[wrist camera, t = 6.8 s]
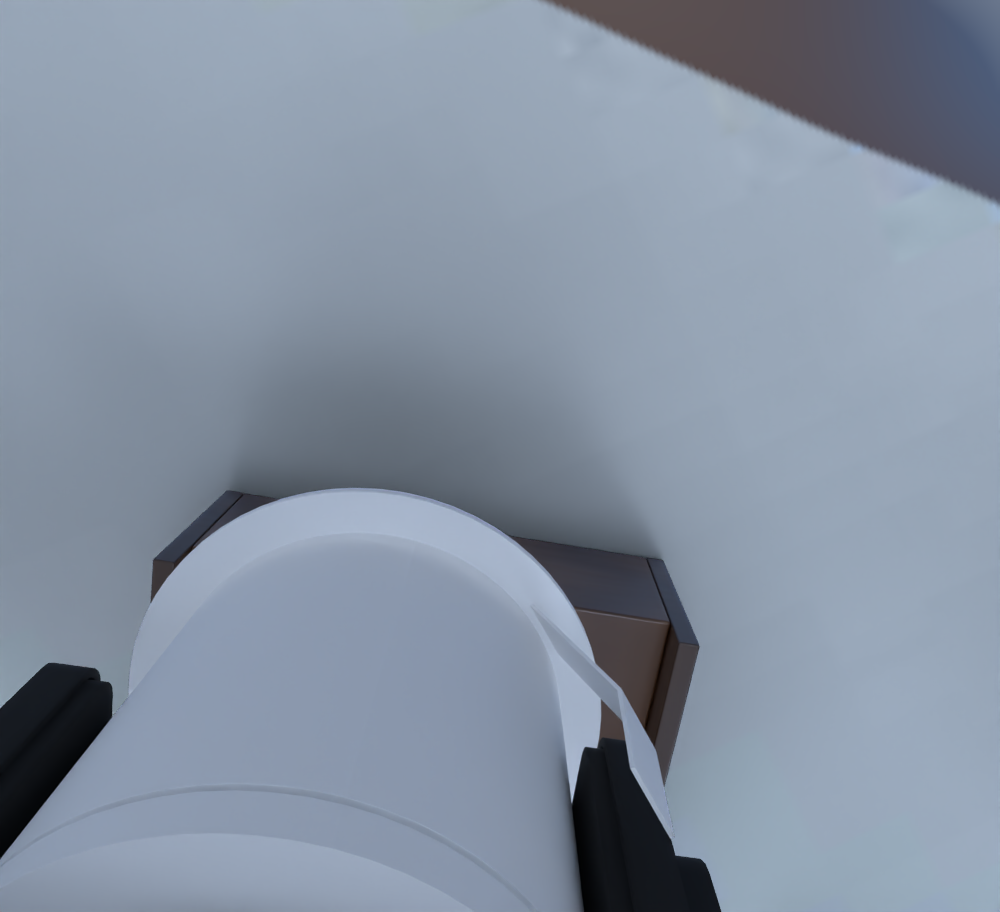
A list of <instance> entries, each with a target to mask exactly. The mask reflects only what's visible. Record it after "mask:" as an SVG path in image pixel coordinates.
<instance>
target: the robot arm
mask: <svg viewBox="0 0 1000 912" xmlns="http://www.w3.org/2000/svg"><path fill="white" fill-rule="evenodd" d="M112 699H113V692H112V686H111V684H110V683H109V682H103V681H101V680H100V675H99V671H98V670H96V669H95V668H88V667H81V666H73V665H66V664H59V663H48V664H47V665H45V666H44V667H42V668H41V669H40V670H39V671H38V672H37V673H36V674H35V675H34V676H33V677H32V678H31V679H30V680H29V681H28V682H27V683H26V684H25V685H24V686H23V687H22V688H21V689H20V690H19V691H18V692H17V693H16V694H15V695H14V696H13V697H12V698H11V699H10V700H9V701H7V702H6V703H5V704H4V705H3V706H2V707H1V708H0V859H1V858H2V856H3V855H4V854H5V852H6V851H7V850H8V849H9V847H10V846H11V845H12V844H13V842H14V841H15V840H16V839H17V837H18V836H19V835H20V834H21V832H22V831H23V830H24V828H25V827H26V826H27V825H28V823H29V822H30V821H31V820H32V818H33V817H34V816H35V815H36V813H37V812H38V811H39V809H40V808H41V807H42V806H43V804H44V803H45V802H46V801H47V799H48V798H49V797H50V796H51V794H52V793H53V792H54V790H55V789H56V788H57V787H58V785H59V784H60V783H61V782H62V780H63V779H64V778H65V777H66V775H67V774H68V773H69V771H70V770H71V769H72V768H73V766H74V765H75V764H76V763H77V761H78V760H79V759H80V758H81V756H82V755H83V754H84V752H85V751H86V750H87V749H88V747H89V746H90V745H91V744H92V742H93V741H94V740H95V739H96V737H97V736H98V735H99V733H100V732H101V731H102V730H103V728H104V727H105V726H106V725H107V723H108V722H109V721H110V720H111V718H112ZM572 811H573V819H574V828H575V837H576V845H577V854H578V863H579V871H580V880H581V889H582V897H583V906H584V912H721V909H720V906H719V903H718V899H717V896H716V893H715V890H714V887H713V883H712V880H711V877H710V874H709V871H708V869H707V867H706V864H705V863H704V862H703V861H702V860H701V859H697V858H689V857H681V856H675V853H674V849H673V845H672V841H671V839H670V837H669V836H668V834H667V832H666V830H665V829H664V827H663V825H662V823H661V822H660V820H659V818H658V816H657V815H656V813H655V811H654V809H653V808H652V806H651V804H650V802H649V801H648V799H647V797H646V795H645V794H644V792H643V790H642V788H641V787H640V785H639V783H638V781H637V780H636V778H635V776H634V774H633V773H632V771H631V769H630V764H629V758H628V752H627V746H626V740H618V739H611V738H604V737H602V738H601V739H600V742H599V744H598V748H591V747H585V748H584V750H583V752H582V756H581V761H580V766H579V771H578V776H577V781H576V786H575V791H574V796H573V801H572Z"/></svg>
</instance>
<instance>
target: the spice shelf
mask: <svg viewBox="0 0 1000 912" xmlns="http://www.w3.org/2000/svg"><path fill="white" fill-rule="evenodd" d="M277 500H280V499H275V498H269V497H262V496H256V495H250V494H243V493H240V492H234V491H226V492H225V493H224V494H223V495H222V496H221V497H220V498H218V499H217V500H216V501H215V502H214V503H213V504H212V505H211V506H210V507H209V508H208V509H207V510H206V511H205V512H203V513H202V514H201V515H200V516H199V517H198V518H197V519H196V520H195V521H194V522H193V523H192V524H191V525H190V526H189V527H187V528H186V529H185V530H184V531H183V532H182V533H181V534H180V535H179V536H178V537H177V538H176V539H175V540H174V541H173V542H171V543H170V544H169V545H168V546H167V547H166V548H165V549H164V550H163V551H162V552H161V553H160V554H159V555H158V556H157V557H155V558H154V560H153V572H152V589H151V603H152V601H153V599H154V597H155V595H156V594H157V592H158V591H159V589H160V588H161V586H162V585H163V583H164V582H165V581H166V579H167V578H168V576H169V575H170V574H171V573H172V572H173V571H174V569H175V568H176V567H177V566H178V565H179V564H180V563H181V561H182V560H183V559H184V558H185V557H186V556H187V555H188V554H189V553H190V552H191V551H192V550H194V549H195V548H196V547H197V546H198V545H199V544H200V543H201V542H202V541H203V540H205V539H206V538H207V537H209V536H210V535H211V534H213V533H214V532H215V531H217V530H218V529H219V528H221V527H222V526H224V525H226V524H227V523H229V522H231V521H232V520H234V519H236V518H237V517H239V516H241V515H243V514H245V513H247V512H249V511H252V510H254V509H256V508H258V507H260V506H262V505H265V504H268V503H271V502H274V501H277ZM509 537H510V538H511V539H513V540H514V541H516V542H517V543H518V544H519V545H520V546H521V547H523V548H524V549H525V550H526V551H527V552H529V553H530V554H531V555H532V556H533V557H534V558H535V559H536V560H537V561H538V562H539V563H540V564H541V565H542V566H543V567H544V568H545V569H546V570H547V571H548V572H549V574H550V575H551V576H552V577H553V579H554V580H555V581H556V583H557V584H558V585H559V586H560V588H561V589H562V590H563V592H564V593H565V595H566V596H567V598H568V600H569V601H570V603H571V604H572V606H573V607H574V609H575V611H576V613H577V615H578V617H579V619H580V621H581V623H582V625H583V627H584V629H585V632H586V635H587V638H588V640H589V643H590V646H591V649H592V652H593V656H594V660H595V664H596V665H597V666H599V667H600V668H601V669H602V670H603V671H604V672H605V673H606V674H607V675H608V676H609V677H610V678H611V679H612V680H613V681H614V682H615V683H616V684H617V685H618V686H619V687H620V688H621V689H622V691H623V692H624V694H625V696H626V698H627V699H628V701H629V703H630V705H631V707H632V708H633V710H634V712H635V714H636V716H637V717H638V719H639V721H640V723H641V725H642V726H643V728H644V730H645V732H646V733H647V735H648V737H649V739H650V741H651V742H652V744H653V746H654V748H655V750H656V753H657V758H658V762H659V767H660V771H661V776H662V780H663V785H664V786H665V782H666V778H667V774H668V770H669V766H670V762H671V758H672V754H673V750H674V746H675V742H676V738H677V734H678V730H679V726H680V722H681V718H682V714H683V710H684V706H685V702H686V698H687V694H688V690H689V686H690V682H691V678H692V674H693V670H694V666H695V662H696V658H697V654H698V650H699V644H698V641H697V639H696V636H695V634H694V632H693V629H692V627H691V625H690V622H689V620H688V618H687V615H686V613H685V611H684V608H683V606H682V604H681V601H680V599H679V596H678V594H677V592H676V589H675V587H674V585H673V582H672V580H671V578H670V575H669V573H668V571H667V568H666V566H665V564H664V561H663V560H658V559H652V558H647V559H646V558H643V557H637V556H630V555H624V554H618V553H612V552H606V551H599V550H593V549H587V548H581V547H574V546H568V545H562V544H556V543H549V542H543V541H537V540H531V539H524V538H518V537H512V536H509ZM602 737H604V738H611V739H618V740H625V734H624V728H623V722H622V720H621V719H620V718H619V717H618V716H617V715H616V714H615V713H614V712H613V711H612V710H611V709H610V708H609V707H608V706H607V705H606V704H605V703H604V702H603V701H602V699H601V723H600V735H599V741H598V744H599V742H600V739H601V738H602ZM597 748H598V746H597Z"/></svg>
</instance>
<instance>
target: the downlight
mask: <svg viewBox="0 0 1000 912" xmlns="http://www.w3.org/2000/svg"><path fill="white" fill-rule="evenodd" d="M601 699H602V701H603V702H604V703H605V704H606V705H607V706H608V707H609V708H610V709H611V710H612V711H613V712H614V713H615V714H616V715H617V716H618V717H619V718H620V719H621V720H622V722H623V728H624V734H625V740H626V746H627V752H628V758H629V764H630V769H631V771H632V773H633V774H634V776H635V778H636V780H637V781H638V783H639V785H640V787H641V788H642V790H643V792H644V794H645V795H646V797H647V799H648V801H649V802H650V804H651V806H652V808H653V809H654V811H655V813H656V815H657V816H658V818H659V820H660V822H661V823H662V825H663V827H664V829H665V830H666V832H667V834H668V836H669V837H670V839H671V838H674V837H675V836H674V831H673V826H672V822H671V817H670V813H669V808H668V803H667V799H666V794H665V790H664V785H663V780H662V776H661V771H660V767H659V762H658V758H657V753H656V750H655V748H654V746H653V744H652V742H651V741H650V739H649V737H648V735H647V733H646V732H645V730H644V728H643V726H642V725H641V723H640V721H639V719H638V717H637V716H636V714H635V712H634V710H633V708H632V707H631V705H630V703H629V701H628V699H627V698H626V696H625V694H624V692H623V691H622V689H621V688H620V687H619V686H618V685H617V684H616V683H615V682H614V681H613V680H612V679H611V678H610V677H609V676H608V675H607V674H606V673H605V672H604V671H603V670H602V669H601V668H600V667H599V666H597V665H596V664H595V660H594V656H593V652H592V649H591V646H590V643H589V640H588V638H587V635H586V632H585V629H584V627H583V625H582V623H581V621H580V619H579V617H578V615H577V613H576V611H575V609H574V607H573V606H572V604H571V603H570V601H569V600H568V598H567V596H566V595H565V593H564V592H563V590H562V589H561V588H560V586H559V585H558V584H557V583H556V581H555V580H554V579H553V577H552V576H551V575H550V574H549V572H548V571H547V570H546V569H545V568H544V567H543V566H542V565H541V564H540V563H539V562H538V561H537V560H536V559H535V558H534V557H533V556H532V555H531V554H530V553H529V552H527V551H526V550H525V549H524V548H523V547H521V546H520V545H519V544H518V543H517V542H516V541H514V540H513V539H511V538H510V537H509V536H507V535H506V534H504V533H503V532H501V531H500V530H499V529H497V528H496V527H494V526H492V525H490V524H489V523H487V522H485V521H483V520H481V519H480V518H478V517H476V516H474V515H472V514H470V513H468V512H465V511H463V510H461V509H459V508H456V507H454V506H452V505H449V504H446V503H443V502H440V501H437V500H434V499H431V498H427V497H423V496H419V495H415V494H411V493H406V492H400V491H393V490H386V489H374V488H338V489H327V490H320V491H313V492H307V493H302V494H298V495H294V496H290V497H286V498H283V499H280V500H277V501H274V502H271V503H268V504H265V505H262V506H260V507H258V508H256V509H254V510H252V511H249V512H247V513H245V514H243V515H241V516H239V517H237V518H236V519H234V520H232V521H231V522H229V523H227V524H226V525H224V526H222V527H221V528H219V529H218V530H217V531H215V532H214V533H213V534H211V535H210V536H209V537H207V538H206V539H205V540H203V541H202V542H201V543H200V544H199V545H198V546H197V547H196V548H195V549H194V550H192V551H191V552H190V553H189V554H188V555H187V556H186V557H185V558H184V559H183V560H182V561H181V563H180V564H179V565H178V566H177V567H176V568H175V569H174V571H173V572H172V573H171V574H170V575H169V576H168V578H167V579H166V581H165V582H164V583H163V585H162V586H161V588H160V589H159V591H158V592H157V594H156V595H155V597H154V599H153V601H152V603H151V604H150V606H149V608H148V610H147V612H146V614H145V616H144V619H143V621H142V624H141V626H140V629H139V632H138V634H137V638H136V642H135V645H134V649H133V653H132V659H131V665H130V672H129V692H128V698H127V699H126V701H125V702H124V703H123V704H122V706H121V707H120V708H119V709H118V711H117V712H116V713H115V714H114V716H113V717H112V718H111V720H110V721H109V722H108V723H107V725H106V726H105V727H104V728H103V730H102V731H101V732H100V733H99V735H98V736H97V737H96V739H95V740H94V741H93V742H92V744H91V745H90V746H89V747H88V749H87V750H86V751H85V752H84V754H83V755H82V756H81V758H80V759H79V760H78V761H77V763H76V764H75V765H74V766H73V768H72V769H71V770H70V771H69V773H68V774H67V775H66V777H65V778H64V779H63V780H62V782H61V783H60V784H59V785H58V787H57V788H56V789H55V790H54V792H53V793H52V794H51V796H50V797H49V798H48V799H47V801H46V802H45V803H44V804H43V806H42V807H41V808H40V809H39V811H38V812H37V813H36V815H35V816H34V817H33V818H32V820H31V821H30V822H29V823H28V825H27V826H26V827H25V828H24V830H23V831H22V832H21V834H20V835H19V836H18V837H17V839H16V840H15V841H14V842H13V844H12V845H11V846H10V847H9V849H8V850H7V851H6V852H5V854H4V855H3V856H2V858H1V859H0V912H584V906H583V897H582V889H581V880H580V871H579V863H578V854H577V845H576V837H575V828H574V819H573V811H572V801H573V796H574V791H575V786H576V781H577V776H578V771H579V766H580V761H581V756H582V752H583V750H584V748H585V747H591V748H597V746H598V741H599V735H600V723H601Z"/></svg>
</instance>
